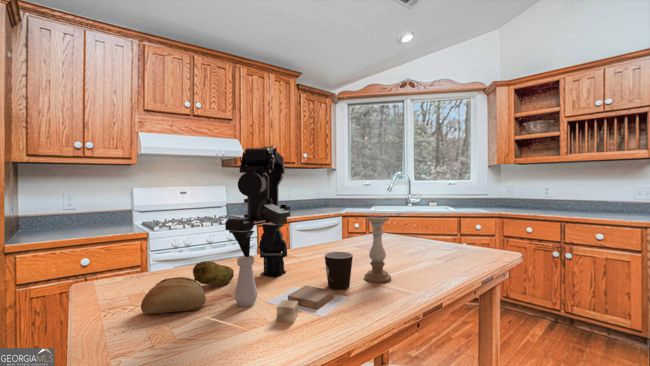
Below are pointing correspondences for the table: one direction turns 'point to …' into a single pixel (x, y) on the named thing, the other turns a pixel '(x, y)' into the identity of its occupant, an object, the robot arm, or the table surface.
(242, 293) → the salt shaker
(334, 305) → the white flat rectangular panel
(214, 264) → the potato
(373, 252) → the candle holder
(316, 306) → the walnut base block
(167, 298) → the bread roll
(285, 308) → the maple block
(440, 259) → the table surface
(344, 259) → the coffee mug
